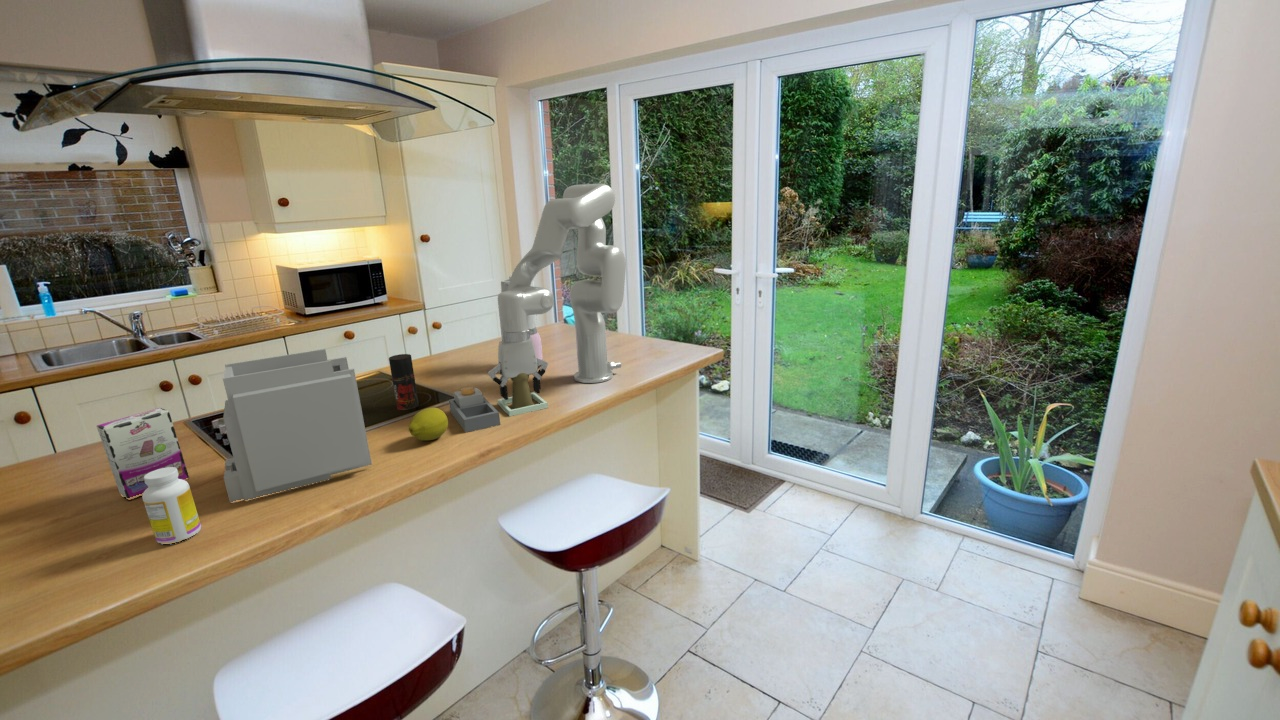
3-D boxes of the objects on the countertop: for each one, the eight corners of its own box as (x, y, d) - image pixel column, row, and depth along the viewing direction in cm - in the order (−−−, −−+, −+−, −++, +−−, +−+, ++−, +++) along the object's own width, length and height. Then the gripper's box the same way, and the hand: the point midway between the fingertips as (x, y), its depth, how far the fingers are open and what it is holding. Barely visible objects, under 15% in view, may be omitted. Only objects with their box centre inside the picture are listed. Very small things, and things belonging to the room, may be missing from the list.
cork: (535, 402, 167) (532, 366, 164) (530, 410, 161) (526, 372, 158) (515, 402, 168) (511, 366, 165) (509, 410, 162) (505, 372, 159)
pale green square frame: (534, 396, 172) (534, 392, 171) (548, 407, 163) (547, 402, 162) (497, 404, 167) (497, 399, 166) (509, 416, 157) (509, 411, 157)
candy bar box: (180, 474, 131) (161, 406, 126) (190, 479, 128) (170, 410, 124) (118, 496, 122) (94, 424, 117) (127, 502, 119) (103, 428, 115)
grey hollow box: (450, 411, 163) (448, 399, 162) (482, 405, 167) (480, 393, 166) (465, 432, 148) (464, 419, 147) (500, 424, 152) (498, 412, 151)
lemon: (440, 428, 151) (436, 400, 149) (458, 435, 146) (454, 405, 144) (402, 443, 143) (397, 413, 141) (419, 450, 138) (414, 419, 136)
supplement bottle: (199, 521, 111) (182, 460, 107) (204, 535, 106) (186, 472, 102) (154, 536, 106) (135, 473, 103) (158, 551, 102) (137, 485, 98)
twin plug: (479, 407, 165) (476, 383, 163) (485, 414, 159) (482, 389, 157) (456, 412, 162) (453, 388, 160) (461, 419, 156) (458, 394, 154)
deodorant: (392, 408, 167) (384, 359, 163) (407, 401, 172) (399, 353, 168) (408, 410, 165) (400, 360, 160) (423, 403, 170) (415, 354, 166)
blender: (530, 374, 194) (520, 279, 185) (500, 370, 199) (490, 278, 190) (555, 361, 208) (547, 272, 199) (527, 358, 213) (518, 271, 204)
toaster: (232, 478, 128) (202, 365, 121) (362, 446, 142) (342, 344, 135) (230, 510, 114) (196, 386, 107) (374, 472, 128) (353, 359, 121)
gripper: (540, 329, 166) (545, 386, 171) (480, 338, 158) (487, 397, 163) (550, 334, 160) (554, 393, 165) (488, 343, 152) (494, 405, 156)
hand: (521, 395), depth 164 cm, fingers open, 8 cm apart
